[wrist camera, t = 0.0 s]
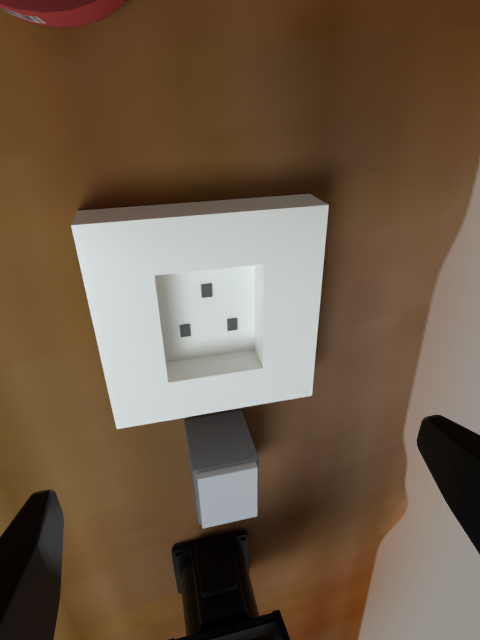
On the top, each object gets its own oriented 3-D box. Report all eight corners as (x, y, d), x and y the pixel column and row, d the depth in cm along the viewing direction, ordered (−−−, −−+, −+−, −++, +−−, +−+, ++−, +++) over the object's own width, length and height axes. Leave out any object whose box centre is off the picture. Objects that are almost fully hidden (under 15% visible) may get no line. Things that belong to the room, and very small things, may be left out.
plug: (242, 459, 31) (260, 517, 27) (190, 469, 31) (199, 531, 26) (241, 409, 29) (260, 464, 25) (184, 418, 28) (194, 477, 24)
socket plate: (298, 372, 28) (311, 395, 26) (117, 401, 26) (116, 429, 24) (309, 193, 22) (328, 204, 20) (77, 210, 20) (71, 225, 18)
